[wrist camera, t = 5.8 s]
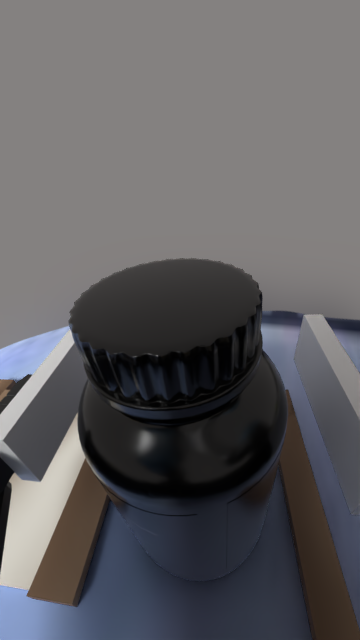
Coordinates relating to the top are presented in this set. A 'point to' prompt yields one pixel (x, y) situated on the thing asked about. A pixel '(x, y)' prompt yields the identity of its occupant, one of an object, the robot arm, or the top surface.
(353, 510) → the robot arm
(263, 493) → the supplement bottle
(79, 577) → the flat wooden frame
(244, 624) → the top surface
